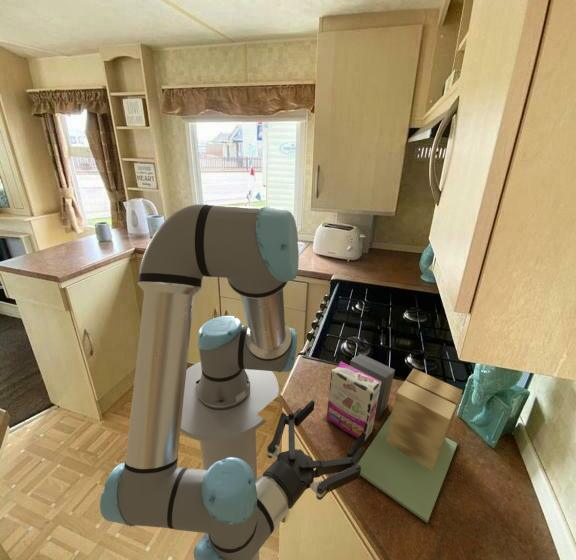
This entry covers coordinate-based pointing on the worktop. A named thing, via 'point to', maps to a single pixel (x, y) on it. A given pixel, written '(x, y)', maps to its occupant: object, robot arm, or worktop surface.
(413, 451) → the cardboard box
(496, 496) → the worktop surface
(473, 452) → the worktop surface
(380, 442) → the sage board
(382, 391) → the grey box
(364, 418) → the candy bar box
